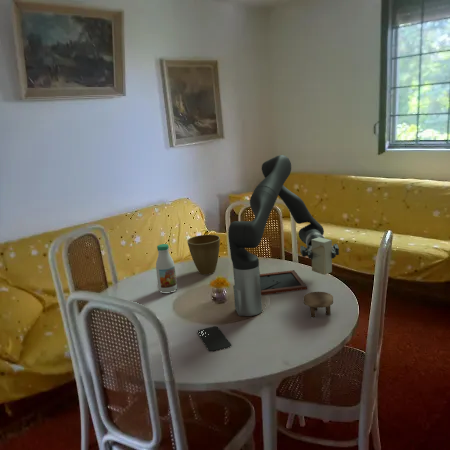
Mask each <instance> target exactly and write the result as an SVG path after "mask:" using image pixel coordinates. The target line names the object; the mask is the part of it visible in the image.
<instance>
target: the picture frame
mask: <svg viewBox="0 0 450 450" xmlns="http://www.w3.org/2000/svg"><path fill="white" fill-rule="evenodd" d="M260 286H261V296H262V295H264V296H265V295H271V294H279V293H280V294H281V293H288V292H295V291H304V290H308V286H307V284H306V283H305V282H304V281H303V279H302V278H301V276H300V275H299V274H298V273H297V272H296V271H295V269H294V270H293V269H292V270H283V271H276V272H268V273H260Z"/></svg>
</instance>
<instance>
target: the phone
mask: <svg viewBox="0 0 450 450" xmlns="http://www.w3.org/2000/svg"><path fill="white" fill-rule="evenodd" d="M199 330H200V331H199ZM203 330H204V331H203ZM197 331H198V333H199V332H200V333H199V335H201V336H200V337H201V338H202V340H203V341H202V340H201V341H202V343H203V342H204V343H205V344H204V343H203V344H204V345H206V346H205V348H206V349H207V348H208V349H207V350H208V352H210V351H213V352H217V351H216V350H218V351H221V350H225V349H228V347H229V348H231V347H232V344H231V342H230V340H228V338H227V337H226V335H225V334H224V333H223V331H222V330H221V329H220V328H219V326H215V325H214V326H210V327H206V328H201V329H197ZM201 331H203V333H204V335H203V336H202V334H203V333H202V334H201ZM205 332H206V334H205ZM198 333H197V334H198ZM208 334H209V335H208ZM199 335H198V336H199ZM205 336H206V337H205ZM200 337H199V338H200ZM201 338H200V339H201ZM230 346H231V347H230ZM224 348H225V349H224ZM220 349H221V350H220Z"/></svg>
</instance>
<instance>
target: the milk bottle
mask: <svg viewBox="0 0 450 450" xmlns="http://www.w3.org/2000/svg"><path fill="white" fill-rule="evenodd" d="M169 247H170V246H169V244H167V243H162V244H158V245H157V246H156V248H157V252H158V255H157V259H156V262H155V270H156V279H157V286H158V291H159V290H160V291H162V292H171V291H174V290H176V289H177V290H178V284H177V283H178V282H177V273H176V268H175V261H174V260H173V259H174V258H172V256H171V254H170V252H169V250H170V248H169ZM177 290H176V291H177Z"/></svg>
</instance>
